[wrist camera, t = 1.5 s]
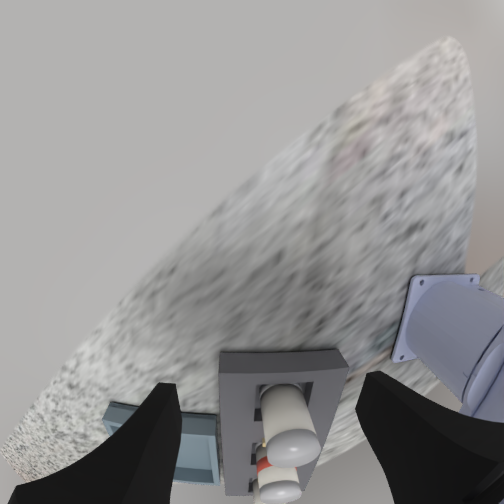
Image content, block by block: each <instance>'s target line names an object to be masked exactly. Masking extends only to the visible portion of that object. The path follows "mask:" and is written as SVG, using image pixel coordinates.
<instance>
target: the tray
mask: <svg viewBox="0 0 504 504" xmlns="http://www.w3.org/2000/svg"><path fill="white" fill-rule="evenodd" d="M137 408H138V407H134V406H128V405H123V404H118V403H113V402H110V404H109V406H108V408H107V410H106V412H105V414H104V416H103V418H102V421H103V423H104V425H105V427H106V429H107V432H108V434H109V436H111V435H112V434H113V433H114V432H115V431H116V430H118V429H119V428H120V427H121V426H122V425H123V424H124V423H125V422H126V421H127V420H128V418H129V417H130V416H131V415H132V414H133V413H134V412H135V411H136V410H137ZM181 415H182V420H183V421H182V434H181V444H180V449H179V453H178V458H177V463H176V468H175V473H174V477H173V482H181V483H190V484H201V485H218V486H219V485H220V459H219V446H218V433H217V418H216V415H201V414H188V413H181Z"/></svg>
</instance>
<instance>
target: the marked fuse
mask: <svg viewBox="0 0 504 504" xmlns="http://www.w3.org/2000/svg"><path fill="white" fill-rule="evenodd" d="M255 452H256V462H257V463H256V468H257V476H258V482H259V492H260V500H261V502H263V503H266V504H284V503H288V502H292V501H294V500H296V499H298V498H299V497H301V495H302V493H301V489H300V484H299V480H298V475H297V468H296V467H293V468H280V467H276V466H273V465H271V464H270V463H269V462H268V458H267V451H266V447H262V443H255Z"/></svg>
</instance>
